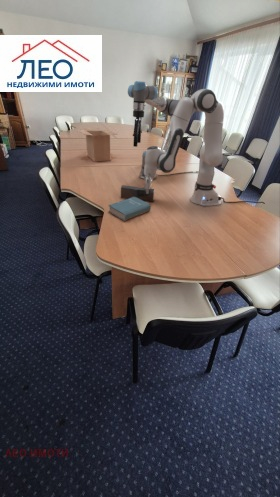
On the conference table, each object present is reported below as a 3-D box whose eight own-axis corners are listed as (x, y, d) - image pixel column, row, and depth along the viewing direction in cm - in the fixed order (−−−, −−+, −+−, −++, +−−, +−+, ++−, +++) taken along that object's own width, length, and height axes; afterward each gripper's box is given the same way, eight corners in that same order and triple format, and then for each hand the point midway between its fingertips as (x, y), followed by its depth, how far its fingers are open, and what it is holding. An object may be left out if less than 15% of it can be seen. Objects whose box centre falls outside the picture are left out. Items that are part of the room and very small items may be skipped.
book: (133, 203, 159) (134, 196, 156) (150, 211, 150) (150, 204, 147) (108, 212, 145) (108, 205, 142) (125, 221, 137) (125, 214, 134)
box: (120, 162, 240) (121, 134, 224) (89, 164, 226) (86, 135, 210) (106, 152, 270) (105, 127, 254) (77, 154, 256) (74, 127, 240)
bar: (120, 198, 165) (120, 187, 160) (122, 195, 168) (122, 185, 164) (152, 202, 162) (153, 191, 158) (153, 199, 166) (154, 189, 161)
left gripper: (141, 112, 137) (139, 148, 150) (146, 109, 157) (144, 141, 170) (129, 111, 138) (128, 147, 150) (136, 108, 158) (135, 140, 170)
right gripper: (153, 177, 144) (150, 197, 152) (156, 168, 160) (153, 186, 168) (143, 175, 144) (141, 195, 152) (147, 167, 161) (145, 185, 169)
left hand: (137, 144), depth 160 cm, fingers open, 13 cm apart
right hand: (148, 190), depth 160 cm, fingers open, 8 cm apart
